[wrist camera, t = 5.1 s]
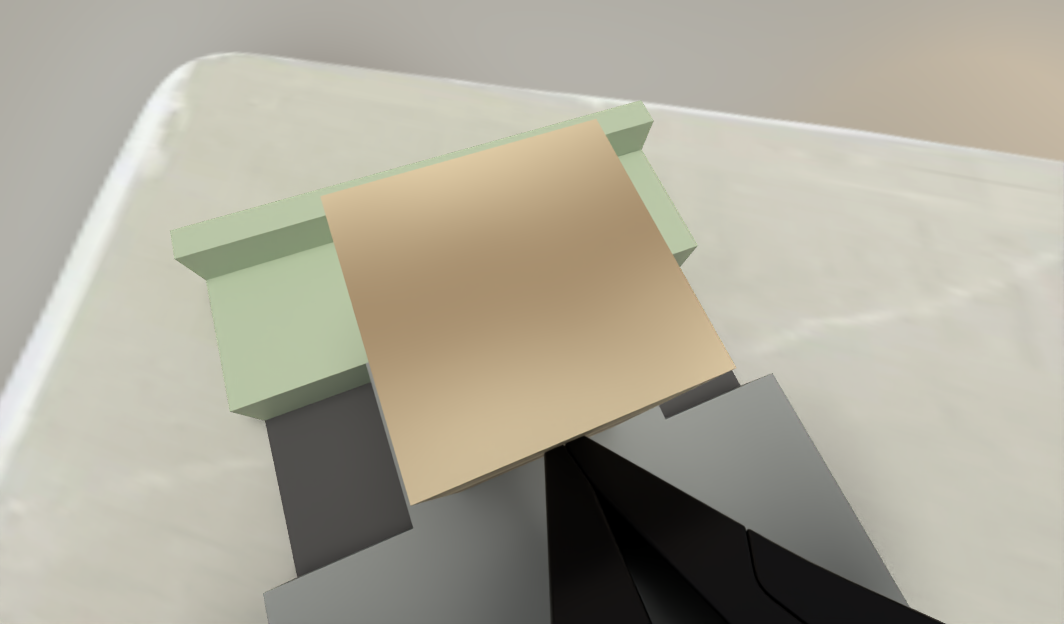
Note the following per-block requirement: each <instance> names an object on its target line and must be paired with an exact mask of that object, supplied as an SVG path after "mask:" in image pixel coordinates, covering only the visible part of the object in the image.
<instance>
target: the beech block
mask: <svg viewBox="0 0 1064 624" xmlns="http://www.w3.org/2000/svg"><path fill="white" fill-rule="evenodd" d="M320 197H321V201H322V204H323V208H324V211H325V215H326V218H327V221H328V225H329V228H330V232H331V235H332V238H333V242H334V245H335V249H336V252H337V256H338V259H339V262H340V266H341V269H342V273H343V276H344V280H345V283H346V286H347V290H348V293H349V297H350V300H351V303H352V307H353V310H354V314H355V317H356V321H357V324H358V327H359V331H360V334H361V338H362V341H363V345H364V348H365V351H366V355H367V358H368V362H369V365H370V368H371V372H372V375H373V379H374V382H375V386H376V389H377V392H378V396H379V399H380V403H381V406H382V409H383V413H384V416H385V420H386V423H387V427H388V430H389V433H390V437H391V440H392V444H393V447H394V451H395V454H396V457H397V461H398V464H399V468H400V471H401V474H402V478H403V481H404V485H405V488H406V492H407V495H408V498H409V502H410V505H411V506H412V505H415V504H419V503H423V502H426V501H430V500H434V499H437V498H441V497H444V496H448V495H452V494H455V493H459V492H462V491H464V490H467V489H469V488H471V487H474V486H476V485H478V484H481V483H483V482H485V481H488V480H490V479H492V478H495V477H497V476H499V475H502V474H504V473H506V472H509V471H511V470H513V469H516V468H518V467H521V466H523V465H525V464H528V463H530V462H532V461H535V460H537V459H539V458H542V457H544V453H545V452H547V451H549V450H551V449H554V448H556V447H559V446H561V445H564V446H565V444H566V443H568V442H570V441H573V440H575V439H577V438H580V437H582V436H586V437H588V438H589V437H591V436H593V435H596V434H598V433H600V432H603V431H605V430H607V429H610V428H612V427H614V426H617V425H619V424H621V423H623V422H625V421H627V420H629V419H631V418H633V417H635V416H638V415H640V414H642V413H644V412H646V411H648V410H650V409H652V408H654V407H656V406H658V405H660V404H662V403H665V402H667V401H669V400H671V399H673V398H675V397H677V396H679V395H681V394H683V393H685V392H687V391H690V390H692V389H694V388H696V387H698V386H700V385H702V384H704V383H706V382H708V381H710V380H712V379H715V378H717V377H719V376H721V375H723V374H725V373H727V372H729V371H731V370H733V369H735V368H736V366H735V365H734V363H733V361H732V359H731V357H730V356H729V354H728V352H727V350H726V349H725V347H724V345H723V343H722V341H721V340H720V338H719V336H718V334H717V333H716V331H715V329H714V327H713V325H712V324H711V322H710V320H709V318H708V317H707V315H706V313H705V311H704V309H703V308H702V306H701V304H700V302H699V301H698V299H697V297H696V295H695V293H694V292H693V290H692V288H691V286H690V284H689V283H688V281H687V279H686V277H685V276H684V274H683V272H682V270H681V268H680V267H679V265H678V263H677V261H676V260H675V258H674V256H673V254H672V252H671V251H670V249H669V247H668V245H667V244H666V242H665V240H664V238H663V236H662V235H661V233H660V231H659V229H658V228H657V226H656V224H655V222H654V220H653V219H652V217H651V215H650V213H649V212H648V210H647V208H646V206H645V204H644V203H643V201H642V199H641V197H640V195H639V194H638V192H637V190H636V188H635V187H634V185H633V183H632V181H631V179H630V178H629V176H628V174H627V172H626V171H625V169H624V167H623V165H622V163H621V162H620V160H619V158H618V156H617V155H616V153H615V151H614V149H613V147H612V146H611V144H610V142H609V140H608V139H607V137H606V135H605V133H604V131H603V130H602V128H601V126H600V124H599V123H598V121H597V119H594V120H590V121H587V122H583V123H579V124H576V125H572V126H569V127H565V128H562V129H558V130H555V131H551V132H547V133H544V134H540V135H537V136H533V137H530V138H526V139H522V140H519V141H515V142H512V143H508V144H505V145H501V146H498V147H494V148H490V149H487V150H483V151H480V152H476V153H473V154H469V155H465V156H462V157H458V158H455V159H451V160H448V161H444V162H440V163H437V164H433V165H430V166H426V167H423V168H419V169H416V170H412V171H408V172H405V173H401V174H398V175H394V176H391V177H387V178H383V179H380V180H376V181H373V182H369V183H366V184H362V185H358V186H355V187H351V188H348V189H344V190H341V191H337V192H334V193H330V194H326V195H323V196H320Z"/></svg>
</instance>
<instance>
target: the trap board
mask: <svg viewBox="0 0 1064 624" xmlns="http://www.w3.org/2000/svg"><path fill="white" fill-rule="evenodd" d="M594 119H597V121H598V123H599V124H600V126H601V128H602V130H603V131H604V133H605V135H606V137H607V139H608V140H609V142H610V144H611V146H612V147H613V149H614V151H615V153H616V155H617V156H618V158H619V160H620V162H621V163H622V165H623V167H624V169H625V171H626V172H627V174H628V176H629V178H630V179H631V181H632V183H633V185H634V187H635V188H636V190H637V192H638V194H639V195H640V197H641V199H642V201H643V203H644V204H645V206H646V208H647V210H648V212H649V213H650V215H651V217H652V219H653V220H654V222H655V224H656V226H657V228H658V229H659V231H660V233H661V235H662V236H663V238H664V240H665V242H666V244H667V245H668V247H669V249H670V251H671V252H672V254H673V256H674V258H675V260H676V261H677V263H678V265H679V267H680V266H681V265H682V264H683V263H684V261H685V260H686V259H687V258H688V257H689V255H690V254H691V253H692V252H693V251H694V249H695V248H696V247H697V246H698V245H697V243H696V242H695V240H694V238H693V237H692V235H691V233H690V231H689V230H688V228H687V226H686V225H685V223H684V221H683V219H682V218H681V216H680V214H679V213H678V211H677V209H676V208H675V206H674V204H673V202H672V201H671V199H670V197H669V196H668V194H667V192H666V190H665V189H664V187H663V185H662V184H661V182H660V180H659V179H658V177H657V175H656V173H655V172H654V170H653V168H652V167H651V165H650V163H649V161H648V160H647V158H646V156H645V155H644V153H643V151H642V147H643V145H644V142H645V140H646V138H647V135H648V133H649V130H650V128H651V126H652V123H653V121H654V120H653V119H652V117H651V116H650V114H649V112H648V111H647V109H646V107H645V106H644V104H643V102H642V101H641V100H640V101H637V102H633V103H629V104H626V105H622V106H618V107H615V108H611V109H608V110H604V111H600V112H597V113H593V114H590V115H586V116H582V117H579V118H575V119H572V120H568V121H564V122H561V123H557V124H554V125H550V126H546V127H543V128H539V129H535V130H532V131H528V132H525V133H521V134H517V135H514V136H510V137H507V138H503V139H499V140H496V141H492V142H489V143H485V144H481V145H478V146H474V147H471V148H467V149H463V150H460V151H456V152H452V153H449V154H445V155H442V156H438V157H434V158H431V159H427V160H424V161H420V162H416V163H413V164H409V165H406V166H402V167H398V168H395V169H391V170H388V171H384V172H380V173H377V174H373V175H369V176H366V177H362V178H359V179H355V180H351V181H348V182H344V183H341V184H337V185H333V186H330V187H326V188H323V189H319V190H315V191H312V192H308V193H304V194H301V195H297V196H294V197H290V198H286V199H283V200H279V201H276V202H272V203H268V204H265V205H261V206H258V207H254V208H250V209H247V210H243V211H240V212H236V213H232V214H229V215H225V216H221V217H218V218H214V219H211V220H207V221H203V222H200V223H196V224H193V225H189V226H185V227H182V228H178V229H175V230H171V231H170V234H171V240H172V246H173V252H174V259H175V260H177V261H178V262H180V263H181V264H183V265H184V266H186V267H187V268H189V269H190V270H192V271H193V272H195V273H196V274H198V275H199V276H201V277H202V278H203V279H205V280H206V283H207V288H208V294H209V299H210V305H211V310H212V316H213V321H214V327H215V332H216V338H217V343H218V349H219V354H220V360H221V365H222V371H223V376H224V382H225V387H226V393H227V398H228V404H229V409H230V412H234V413H237V414H241V415H245V416H249V417H253V418H257V419H261V420H265V422H266V427H267V432H268V437H269V442H270V447H271V451H272V456H273V461H274V466H275V471H276V476H277V481H278V485H279V490H280V495H281V500H282V505H283V510H284V515H285V519H286V524H287V529H288V534H289V539H290V544H291V549H292V553H293V558H294V563H295V568H296V573H297V578H295V579H293V580H291V581H289V582H286V583H284V584H282V585H280V586H278V587H276V588H274V589H272V590H269V591H267V592H265V593H263V596H264V601H265V607H266V612H267V618H268V623H269V624H550V598H549V573H548V547H547V522H546V496H545V471H544V457H542V458H539V459H537V460H535V461H532V462H530V463H528V464H525V465H523V466H521V467H518V468H516V469H513V470H511V471H509V472H506V473H504V474H502V475H499V476H497V477H495V478H492V479H490V480H488V481H485V482H483V483H481V484H478V485H476V486H474V487H471V488H469V489H467V490H464V491H462V492H459V493H455V494H452V495H448V496H444V497H441V498H437V499H434V500H430V501H426V502H423V503H419V504H415V505H412V506H411V505H410V502H409V498H408V495H407V492H406V488H405V485H404V481H403V478H402V474H401V471H400V468H399V464H398V461H397V457H396V454H395V451H394V447H393V444H392V440H391V437H390V433H389V430H388V427H387V423H386V420H385V416H384V413H383V409H382V406H381V403H380V399H379V396H378V392H377V389H376V386H375V382H374V379H373V375H372V372H371V368H370V365H369V362H368V358H367V355H366V351H365V348H364V345H363V341H362V338H361V334H360V331H359V327H358V324H357V321H356V317H355V314H354V310H353V307H352V303H351V300H350V297H349V293H348V290H347V286H346V283H345V280H344V276H343V273H342V269H341V266H340V262H339V259H338V256H337V252H336V249H335V245H334V242H333V238H332V235H331V232H330V228H329V225H328V221H327V218H326V215H325V211H324V208H323V204H322V201H321V197H320V196H323V195H326V194H330V193H334V192H337V191H341V190H344V189H348V188H351V187H355V186H358V185H362V184H366V183H369V182H373V181H376V180H380V179H383V178H387V177H391V176H394V175H398V174H401V173H405V172H408V171H412V170H416V169H419V168H423V167H426V166H430V165H433V164H437V163H440V162H444V161H448V160H451V159H455V158H458V157H462V156H465V155H469V154H473V153H476V152H480V151H483V150H487V149H490V148H494V147H498V146H501V145H505V144H508V143H512V142H515V141H519V140H522V139H526V138H530V137H533V136H537V135H540V134H544V133H547V132H551V131H555V130H558V129H562V128H565V127H569V126H572V125H576V124H579V123H583V122H587V121H590V120H594ZM589 438H590V439H592V440H594V441H595V442H597V443H599V444H601V445H602V446H604V447H606V448H608V449H610V450H611V451H613V452H615V453H617V454H618V455H620V456H622V457H624V458H626V459H627V460H629V461H631V462H633V463H634V464H636V465H638V466H640V467H642V468H643V469H645V470H647V471H649V472H650V473H652V474H654V475H656V476H657V477H659V478H661V479H663V480H665V481H666V482H668V483H670V484H672V485H673V486H675V487H677V488H679V489H681V490H682V491H684V492H686V493H688V494H689V495H691V496H693V497H695V498H696V499H698V500H700V501H702V502H704V503H705V504H707V505H709V506H711V507H712V508H714V509H716V510H718V511H720V512H721V513H723V514H725V515H727V516H728V517H730V518H732V519H734V520H736V521H737V522H739V523H741V524H743V525H744V526H745V527H746V531H747V529H752V530H754V531H755V532H757V533H759V534H761V535H762V536H764V537H766V538H768V539H769V540H771V541H773V542H775V543H777V544H779V545H781V546H782V547H784V548H786V549H788V550H790V551H792V552H794V553H796V554H797V555H799V556H801V557H803V558H805V559H807V560H809V561H811V562H813V563H815V564H817V565H819V566H821V567H823V568H825V569H828V570H830V571H832V572H834V573H836V574H838V575H840V576H842V577H844V578H846V579H849V580H851V581H853V582H855V583H857V584H859V585H862V586H864V587H866V588H868V589H870V590H873V591H875V592H877V593H879V594H881V595H884V596H886V597H888V598H890V599H892V600H895V601H897V602H899V603H901V604H903V605H906V606H908V607H909V605H908V604H907V602H906V600H905V598H904V597H903V595H902V593H901V592H900V590H899V588H898V586H897V585H896V583H895V581H894V580H893V578H892V576H891V575H890V573H889V571H888V569H887V568H886V566H885V564H884V563H883V561H882V559H881V557H880V556H879V554H878V552H877V551H876V549H875V547H874V545H873V544H872V542H871V540H870V539H869V537H868V535H867V534H866V532H865V530H864V528H863V527H862V525H861V523H860V522H859V520H858V518H857V516H856V515H855V513H854V511H853V510H852V508H851V506H850V505H849V503H848V501H847V499H846V498H845V496H844V494H843V493H842V491H841V489H840V487H839V486H838V484H837V482H836V481H835V479H834V477H833V476H832V474H831V472H830V470H829V469H828V467H827V465H826V464H825V462H824V460H823V458H822V457H821V455H820V453H819V452H818V450H817V448H816V446H815V445H814V443H813V441H812V440H811V438H810V436H809V435H808V433H807V431H806V429H805V428H804V426H803V424H802V423H801V421H800V419H799V417H798V416H797V414H796V412H795V411H794V409H793V407H792V406H791V404H790V402H789V400H788V399H787V397H786V395H785V394H784V392H783V390H782V388H781V387H780V385H779V383H778V382H777V380H776V378H775V377H774V375H773V373H772V374H769V375H767V376H764V377H762V378H759V379H757V380H754V381H752V382H749V383H747V384H744V385H742V386H740V384H739V382H738V380H737V379H736V377H735V375H734V373H733V371H732V370H731V371H729V372H727V373H725V374H723V375H721V376H719V377H717V378H715V379H712V380H710V381H708V382H706V383H704V384H702V385H700V386H698V387H696V388H694V389H692V390H690V391H687V392H685V393H683V394H681V395H679V396H677V397H675V398H673V399H671V400H669V401H667V402H665V403H662V404H660V405H658V406H656V407H654V408H652V409H650V410H648V411H646V412H644V413H642V414H640V415H638V416H635V417H633V418H631V419H629V420H627V421H625V422H623V423H621V424H619V425H617V426H614V427H612V428H610V429H607V430H605V431H603V432H600V433H598V434H596V435H593V436H591V437H589Z"/></svg>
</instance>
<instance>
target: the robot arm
mask: <svg viewBox="0 0 1064 624" xmlns="http://www.w3.org/2000/svg"><path fill="white" fill-rule="evenodd" d="M544 471H545V496H546V522H547V547H548V573H549V598H550V624H945V623H943V622H941V621H939V620H937V619H934V618H932V617H930V616H928V615H926V614H923V613H921V612H919V611H917V610H915V609H912V608H910V607H908V606H906V605H903V604H901V603H899V602H897V601H895V600H892V599H890V598H888V597H886V596H884V595H881V594H879V593H877V592H875V591H873V590H870V589H868V588H866V587H864V586H862V585H859V584H857V583H855V582H853V581H851V580H849V579H846V578H844V577H842V576H840V575H838V574H836V573H834V572H832V571H830V570H828V569H825V568H823V567H821V566H819V565H817V564H815V563H813V562H811V561H809V560H807V559H805V558H803V557H801V556H799V555H797V554H796V553H794V552H792V551H790V550H788V549H786V548H784V547H782V546H781V545H779V544H777V543H775V542H773V541H771V540H769V539H768V538H766V537H764V536H762V535H761V534H759V533H757V532H755V531H754V530H752V529H747V531H746V527H745V526H744V525H743V524H741V523H739V522H737V521H736V520H734V519H732V518H730V517H728V516H727V515H725V514H723V513H721V512H720V511H718V510H716V509H714V508H712V507H711V506H709V505H707V504H705V503H704V502H702V501H700V500H698V499H696V498H695V497H693V496H691V495H689V494H688V493H686V492H684V491H682V490H681V489H679V488H677V487H675V486H673V485H672V484H670V483H668V482H666V481H665V480H663V479H661V478H659V477H657V476H656V475H654V474H652V473H650V472H649V471H647V470H645V469H643V468H642V467H640V466H638V465H636V464H634V463H633V462H631V461H629V460H627V459H626V458H624V457H622V456H620V455H618V454H617V453H615V452H613V451H611V450H610V449H608V448H606V447H604V446H602V445H601V444H599V443H597V442H595V441H594V440H592V439H590V438H588V437H586V436H582V437H580V438H577V439H575V440H573V441H570V442H568V443H566V444H565V446H564V445H561V446H559V447H556V448H554V449H551V450H549V451H547V452H545V453H544Z"/></svg>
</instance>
